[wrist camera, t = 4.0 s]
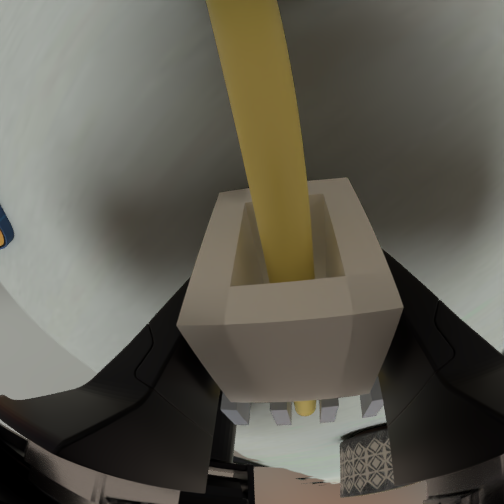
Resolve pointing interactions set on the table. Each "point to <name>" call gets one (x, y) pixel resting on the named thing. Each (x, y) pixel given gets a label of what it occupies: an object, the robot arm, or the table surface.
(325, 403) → the comb
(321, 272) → the sleeve
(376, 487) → the planter
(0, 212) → the smartphone
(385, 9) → the table surface
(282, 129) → the rod
